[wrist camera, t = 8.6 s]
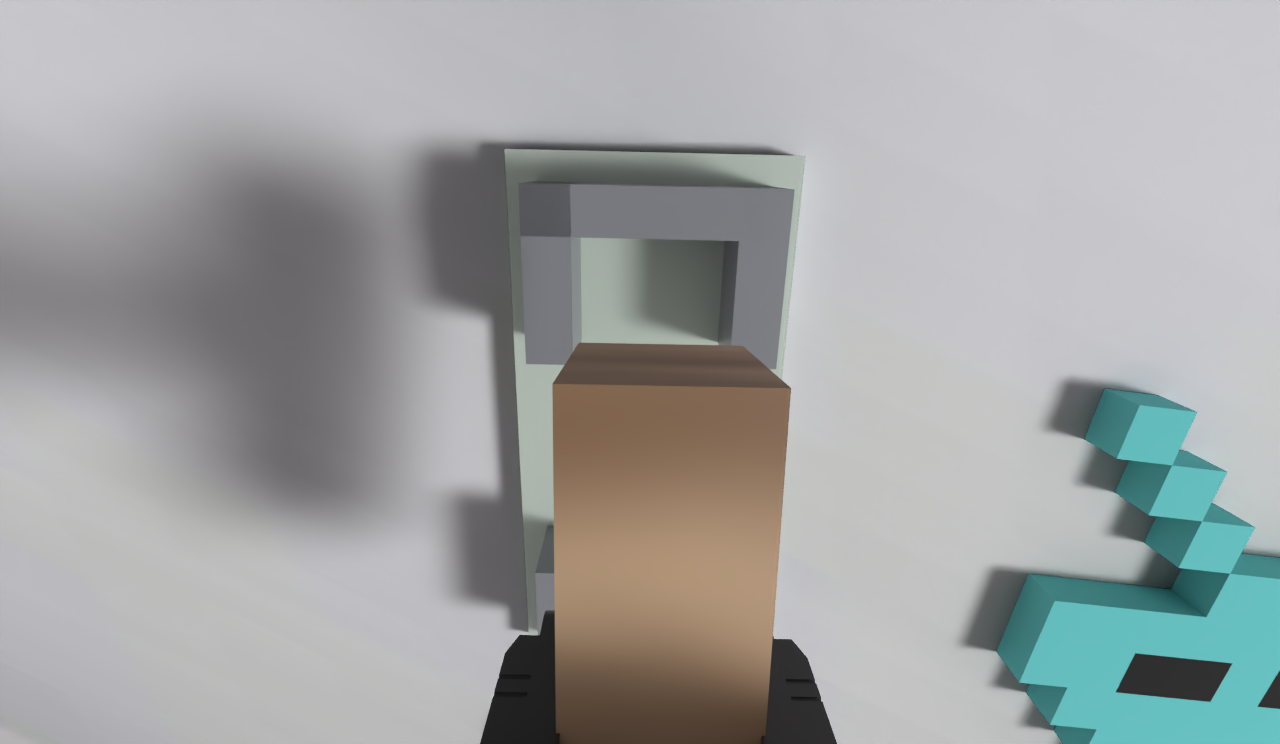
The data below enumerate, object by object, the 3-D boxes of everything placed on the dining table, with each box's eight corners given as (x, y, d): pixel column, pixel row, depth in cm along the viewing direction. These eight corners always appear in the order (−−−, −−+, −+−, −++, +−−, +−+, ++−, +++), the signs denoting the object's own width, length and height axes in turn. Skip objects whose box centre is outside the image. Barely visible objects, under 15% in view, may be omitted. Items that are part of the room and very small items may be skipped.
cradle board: (510, 149, 20) (504, 148, 19) (797, 156, 20) (805, 155, 20) (533, 633, 27) (529, 650, 26) (748, 637, 27) (752, 654, 26)
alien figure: (1095, 384, 24) (949, 746, 30) (1139, 405, 22) (972, 789, 28) (1553, 441, 25) (1316, 781, 31) (1638, 466, 23) (1365, 826, 29)
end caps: (535, 181, 20) (518, 183, 17) (772, 186, 20) (794, 189, 17) (551, 632, 26) (540, 689, 23) (731, 635, 26) (743, 692, 23)
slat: (578, 342, 13) (551, 384, 9) (742, 345, 13) (791, 388, 9) (579, 874, 15) (559, 1088, 11) (713, 876, 15) (739, 1089, 11)
